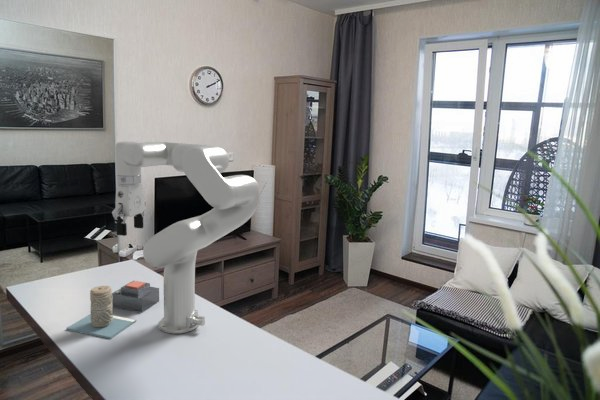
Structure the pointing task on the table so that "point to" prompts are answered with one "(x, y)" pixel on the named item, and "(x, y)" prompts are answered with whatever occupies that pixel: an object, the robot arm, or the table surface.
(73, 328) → the mat
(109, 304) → the carving
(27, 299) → the table surface
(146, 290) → the breaker box
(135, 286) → the button
